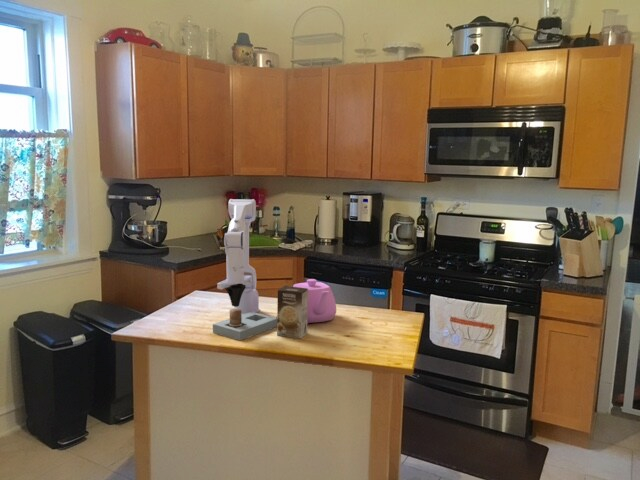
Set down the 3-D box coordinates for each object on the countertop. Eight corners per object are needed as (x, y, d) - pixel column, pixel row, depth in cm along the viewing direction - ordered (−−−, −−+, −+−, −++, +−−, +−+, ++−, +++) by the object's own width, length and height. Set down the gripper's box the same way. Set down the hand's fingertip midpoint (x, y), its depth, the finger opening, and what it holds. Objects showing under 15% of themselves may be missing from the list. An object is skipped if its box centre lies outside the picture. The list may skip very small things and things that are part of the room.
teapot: (273, 316, 202) (273, 277, 199) (323, 310, 210) (324, 273, 208) (293, 334, 181) (293, 291, 179) (349, 327, 189) (349, 286, 187)
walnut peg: (236, 330, 185) (235, 308, 183) (244, 332, 182) (244, 310, 181) (227, 333, 182) (226, 310, 180) (235, 335, 179) (235, 312, 178)
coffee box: (276, 335, 180) (276, 289, 177) (283, 330, 186) (283, 285, 183) (301, 339, 177) (301, 292, 174) (308, 333, 183) (308, 287, 180)
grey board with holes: (251, 319, 197) (251, 311, 197) (277, 326, 190) (277, 318, 189) (212, 332, 182) (212, 324, 182) (240, 340, 174) (239, 331, 174)
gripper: (227, 272, 170) (228, 312, 172) (258, 265, 182) (258, 303, 184) (212, 269, 174) (213, 309, 176) (243, 262, 186) (244, 299, 188)
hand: (235, 305), depth 180 cm, fingers closed
